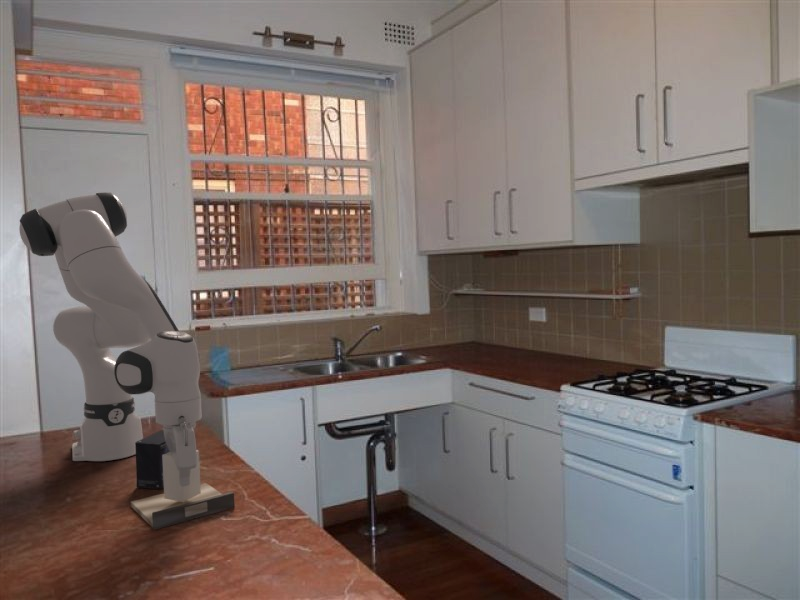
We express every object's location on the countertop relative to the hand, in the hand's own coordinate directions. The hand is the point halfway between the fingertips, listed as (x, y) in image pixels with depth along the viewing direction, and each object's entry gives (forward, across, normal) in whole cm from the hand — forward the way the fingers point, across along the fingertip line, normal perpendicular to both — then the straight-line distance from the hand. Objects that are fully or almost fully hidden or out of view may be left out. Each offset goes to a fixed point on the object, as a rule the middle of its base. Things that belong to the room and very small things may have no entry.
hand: (181, 478), depth 130 cm
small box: (+6, +19, +2) cm, 20 cm away
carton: (+4, 0, 0) cm, 4 cm away
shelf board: (+6, +1, 0) cm, 6 cm away
